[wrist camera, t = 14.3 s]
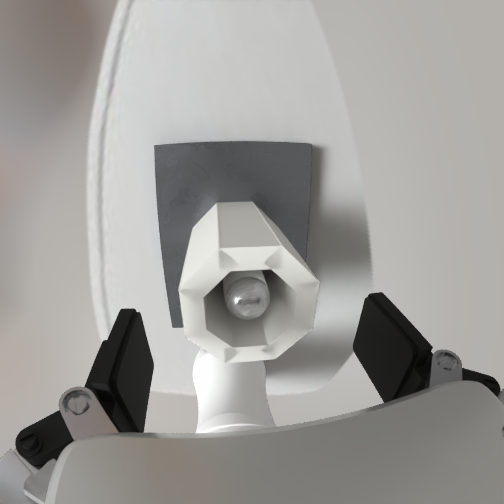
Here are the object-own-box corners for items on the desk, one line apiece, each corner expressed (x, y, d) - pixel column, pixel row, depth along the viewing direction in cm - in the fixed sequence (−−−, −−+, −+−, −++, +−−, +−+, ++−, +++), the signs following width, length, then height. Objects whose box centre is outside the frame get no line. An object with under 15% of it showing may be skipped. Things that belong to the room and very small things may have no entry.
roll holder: (158, 145, 20) (108, 145, 10) (305, 143, 22) (379, 146, 11) (174, 318, 26) (160, 409, 16) (295, 311, 28) (334, 394, 17)
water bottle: (274, 348, 29) (346, 578, 6) (232, 384, 30) (264, 590, 7) (222, 316, 27) (259, 604, 4) (180, 358, 28) (177, 595, 5)
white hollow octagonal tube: (191, 203, 21) (173, 249, 12) (277, 201, 22) (324, 243, 13) (196, 281, 23) (189, 364, 14) (274, 277, 24) (309, 355, 15)
